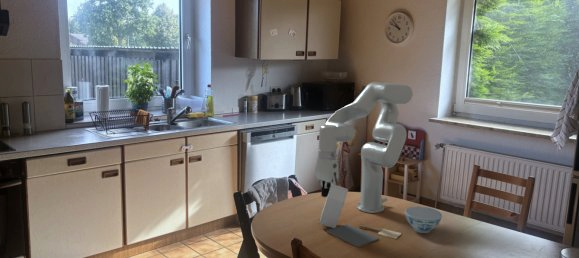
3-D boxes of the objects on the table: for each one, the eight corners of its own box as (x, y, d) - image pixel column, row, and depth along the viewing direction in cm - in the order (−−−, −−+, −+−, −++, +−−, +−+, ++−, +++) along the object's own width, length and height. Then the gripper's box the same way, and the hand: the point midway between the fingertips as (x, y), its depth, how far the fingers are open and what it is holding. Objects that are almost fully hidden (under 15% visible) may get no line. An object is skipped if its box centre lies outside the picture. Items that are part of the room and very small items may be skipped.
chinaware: (443, 227, 211) (445, 210, 209) (436, 240, 198) (437, 222, 196) (409, 220, 218) (410, 204, 216) (399, 232, 205) (400, 214, 203)
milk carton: (335, 229, 207) (347, 194, 197) (318, 223, 207) (330, 189, 198) (337, 218, 213) (349, 184, 203) (321, 213, 213) (332, 179, 204)
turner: (362, 224, 211) (363, 222, 211) (401, 234, 203) (401, 232, 203) (357, 229, 206) (357, 227, 206) (396, 239, 198) (396, 237, 198)
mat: (347, 225, 211) (347, 224, 211) (378, 239, 197) (379, 238, 197) (326, 231, 203) (326, 230, 203) (358, 247, 190) (358, 245, 189)
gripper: (346, 157, 202) (343, 199, 206) (322, 149, 214) (320, 190, 217) (332, 159, 198) (330, 202, 201) (309, 151, 209) (307, 193, 213)
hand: (325, 196), depth 209 cm, fingers closed
